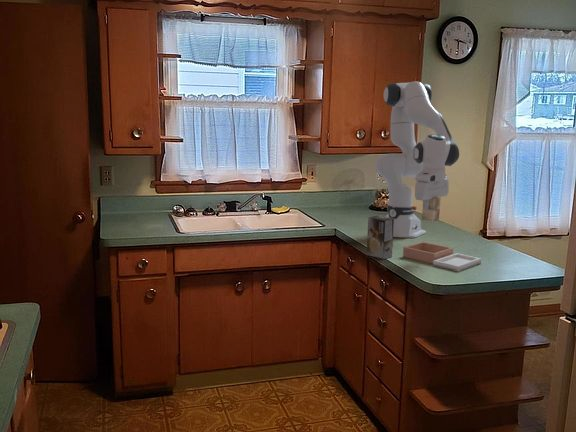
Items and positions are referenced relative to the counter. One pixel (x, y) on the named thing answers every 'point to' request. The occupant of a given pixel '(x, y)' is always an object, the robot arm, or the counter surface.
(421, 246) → the terracotta square frame
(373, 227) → the coffee box
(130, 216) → the counter surface
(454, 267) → the white tray
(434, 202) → the maple block
